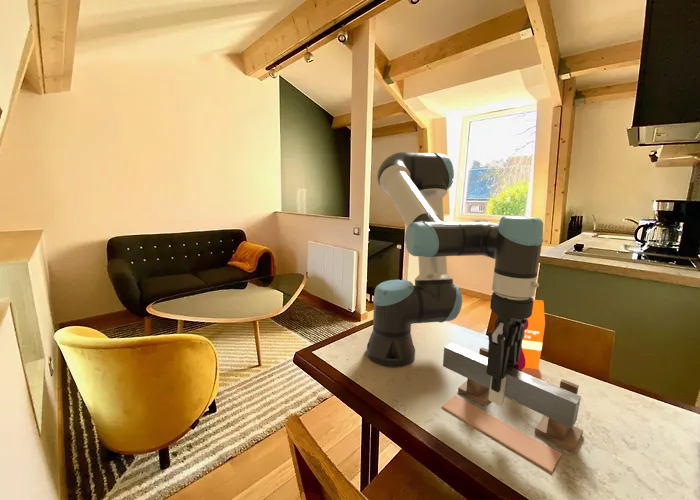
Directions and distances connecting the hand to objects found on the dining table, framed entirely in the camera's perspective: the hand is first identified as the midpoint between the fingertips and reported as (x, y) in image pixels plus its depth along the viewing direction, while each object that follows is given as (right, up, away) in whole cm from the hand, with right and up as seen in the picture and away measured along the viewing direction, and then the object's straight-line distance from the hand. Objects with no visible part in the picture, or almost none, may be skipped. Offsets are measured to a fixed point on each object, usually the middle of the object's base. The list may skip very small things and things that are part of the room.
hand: (499, 398), depth 66 cm
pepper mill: (+13, -4, +22) cm, 26 cm away
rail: (0, +2, 0) cm, 2 cm away
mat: (0, -7, +1) cm, 8 cm away
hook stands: (+7, -6, +7) cm, 12 cm away
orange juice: (+20, -3, +29) cm, 36 cm away
